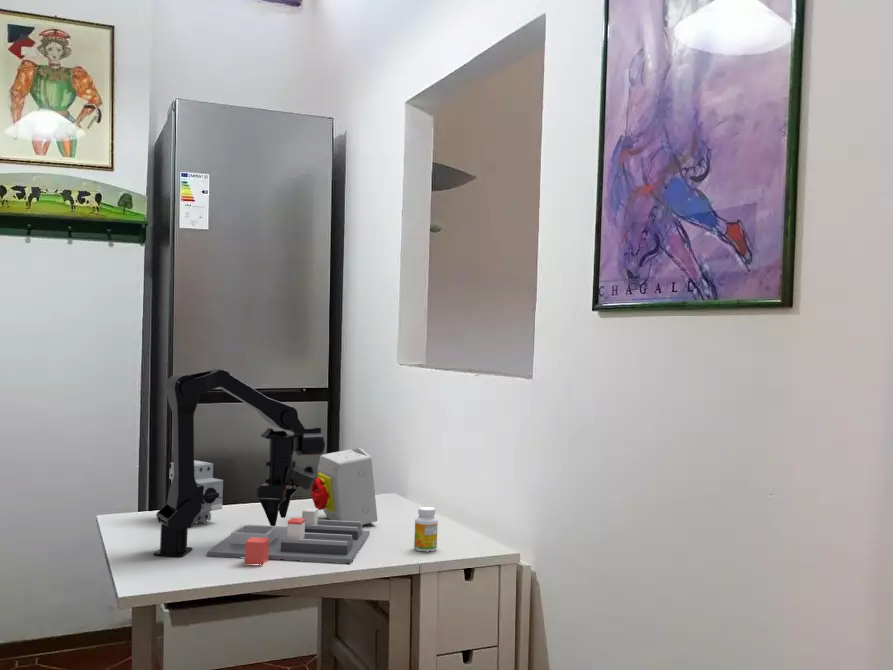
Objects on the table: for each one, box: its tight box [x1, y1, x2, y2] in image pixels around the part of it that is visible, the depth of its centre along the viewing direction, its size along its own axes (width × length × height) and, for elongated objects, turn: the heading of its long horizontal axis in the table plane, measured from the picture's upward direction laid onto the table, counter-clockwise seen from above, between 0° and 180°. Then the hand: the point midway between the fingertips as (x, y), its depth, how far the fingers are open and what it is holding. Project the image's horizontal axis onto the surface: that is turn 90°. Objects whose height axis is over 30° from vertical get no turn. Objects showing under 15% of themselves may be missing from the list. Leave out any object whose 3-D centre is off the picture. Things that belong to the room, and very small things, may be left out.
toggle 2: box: [301, 507, 319, 525], centre depth 198 cm, size 4×3×4 cm
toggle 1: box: [287, 517, 305, 539], centre depth 184 cm, size 4×3×4 cm
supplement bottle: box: [413, 506, 439, 553], centre depth 191 cm, size 5×5×10 cm
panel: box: [206, 519, 371, 564], centre depth 191 cm, size 27×32×4 cm
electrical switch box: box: [310, 447, 378, 526], centre depth 215 cm, size 15×15×20 cm
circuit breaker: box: [168, 459, 224, 524], centre depth 210 cm, size 8×14×15 cm, turn 53°
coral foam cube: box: [244, 537, 269, 565], centre depth 174 cm, size 4×4×5 cm
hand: (278, 521), depth 194 cm, fingers open, 9 cm apart
